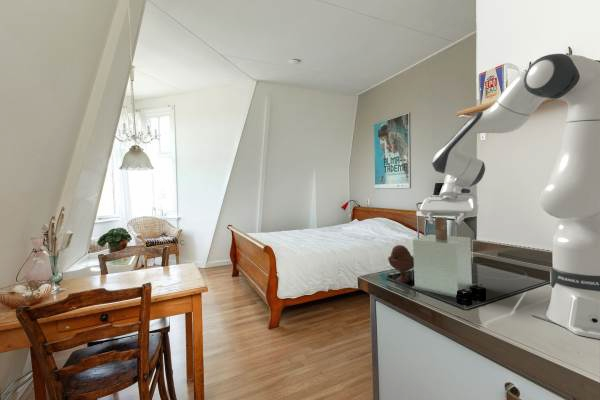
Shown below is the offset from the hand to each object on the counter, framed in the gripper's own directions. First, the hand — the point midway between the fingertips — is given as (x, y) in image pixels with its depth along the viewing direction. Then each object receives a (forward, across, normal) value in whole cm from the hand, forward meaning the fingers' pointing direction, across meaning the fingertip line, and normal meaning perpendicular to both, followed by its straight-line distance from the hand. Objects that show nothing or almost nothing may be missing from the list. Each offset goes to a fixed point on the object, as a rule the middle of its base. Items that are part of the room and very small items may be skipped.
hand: (443, 223), depth 106 cm
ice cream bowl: (+20, -15, +14) cm, 29 cm away
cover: (+18, 0, +15) cm, 24 cm away
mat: (+18, 0, +16) cm, 24 cm away
